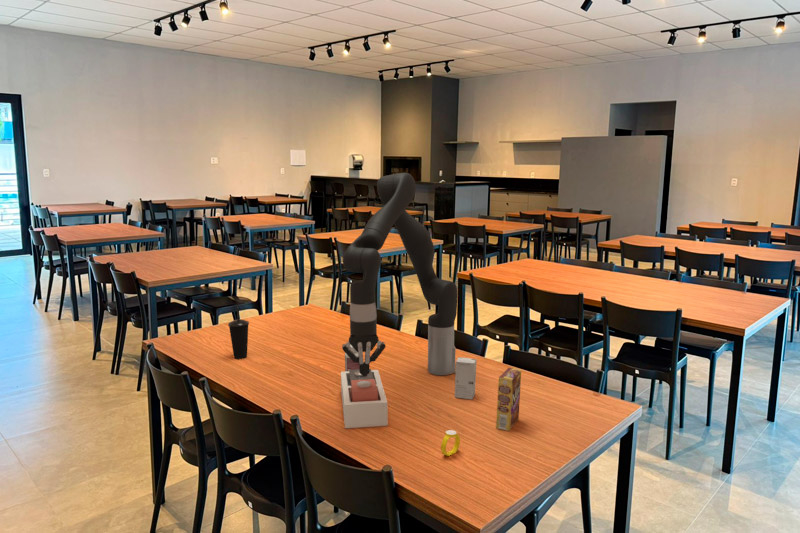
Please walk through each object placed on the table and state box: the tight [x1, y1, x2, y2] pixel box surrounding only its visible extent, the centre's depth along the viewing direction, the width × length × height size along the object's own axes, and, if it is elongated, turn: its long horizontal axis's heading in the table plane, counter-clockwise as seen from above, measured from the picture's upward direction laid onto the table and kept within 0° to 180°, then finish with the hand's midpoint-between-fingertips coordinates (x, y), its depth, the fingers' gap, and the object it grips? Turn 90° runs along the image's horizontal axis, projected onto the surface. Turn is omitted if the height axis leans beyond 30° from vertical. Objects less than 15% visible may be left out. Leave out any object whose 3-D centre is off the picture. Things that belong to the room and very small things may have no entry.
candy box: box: [495, 367, 522, 432], centre depth 159 cm, size 9×4×15 cm, turn 152°
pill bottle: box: [344, 345, 359, 372], centre depth 197 cm, size 6×6×11 cm
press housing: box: [340, 369, 389, 429], centre depth 171 cm, size 12×26×7 cm, turn 8°
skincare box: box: [454, 357, 477, 400], centre depth 179 cm, size 6×4×12 cm
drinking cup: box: [227, 306, 250, 360], centre depth 216 cm, size 8×8×20 cm
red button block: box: [351, 379, 378, 402], centre depth 165 cm, size 7×9×8 cm
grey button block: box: [349, 368, 373, 386], centre depth 177 cm, size 7×9×8 cm
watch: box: [440, 429, 461, 457], centre depth 144 cm, size 6×3×6 cm, turn 136°
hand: (364, 375), depth 164 cm, fingers closed
